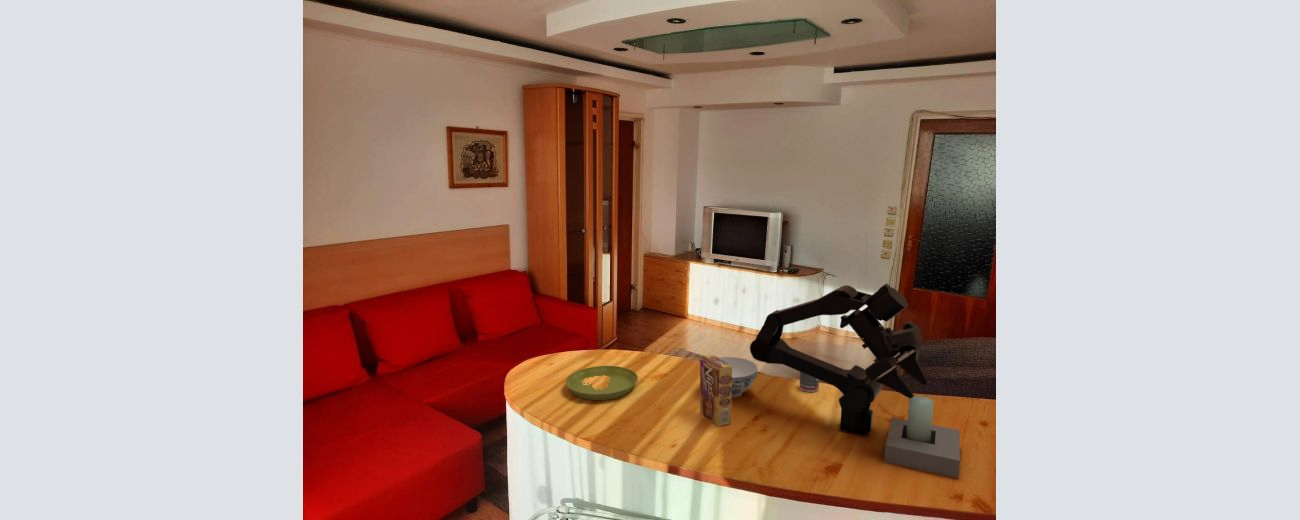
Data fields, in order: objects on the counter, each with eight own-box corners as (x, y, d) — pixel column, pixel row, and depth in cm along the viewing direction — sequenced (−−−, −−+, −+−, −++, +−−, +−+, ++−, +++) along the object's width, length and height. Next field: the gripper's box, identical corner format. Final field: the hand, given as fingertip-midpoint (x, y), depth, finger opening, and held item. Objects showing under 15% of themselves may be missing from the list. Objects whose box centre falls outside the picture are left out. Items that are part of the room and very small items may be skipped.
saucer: (652, 383, 165) (651, 373, 164) (609, 411, 148) (608, 400, 147) (596, 370, 176) (596, 360, 175) (550, 394, 159) (550, 383, 158)
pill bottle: (819, 393, 155) (820, 362, 154) (799, 391, 157) (800, 361, 155) (817, 385, 161) (818, 355, 159) (798, 384, 162) (799, 354, 160)
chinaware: (746, 409, 147) (746, 381, 146) (694, 397, 154) (694, 371, 153) (764, 387, 160) (765, 362, 158) (716, 378, 167) (716, 353, 166)
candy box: (732, 423, 139) (733, 365, 136) (718, 427, 137) (718, 368, 135) (713, 409, 147) (713, 354, 144) (699, 413, 145) (699, 357, 142)
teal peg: (900, 447, 127) (904, 397, 125) (919, 443, 128) (922, 394, 126) (915, 458, 122) (919, 407, 120) (934, 454, 123) (938, 404, 121)
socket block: (884, 462, 121) (885, 445, 120) (891, 433, 133) (892, 417, 132) (958, 478, 115) (960, 460, 114) (958, 446, 127) (959, 430, 126)
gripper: (883, 323, 118) (935, 386, 113) (913, 304, 131) (961, 360, 126) (845, 350, 125) (893, 411, 119) (877, 329, 138) (922, 383, 133)
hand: (919, 390), depth 124 cm, fingers open, 9 cm apart
